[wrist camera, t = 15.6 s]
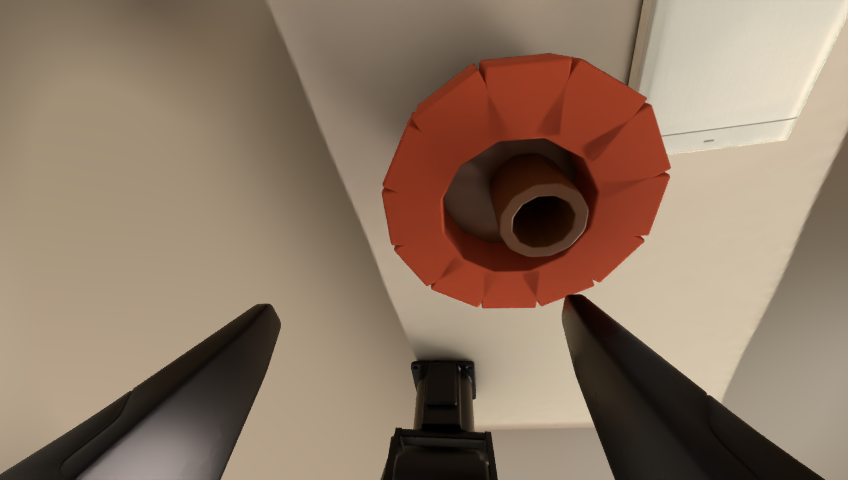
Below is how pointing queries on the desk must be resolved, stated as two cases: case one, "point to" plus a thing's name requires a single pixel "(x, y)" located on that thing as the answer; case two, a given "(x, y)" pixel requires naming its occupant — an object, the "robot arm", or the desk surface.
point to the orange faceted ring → (517, 120)
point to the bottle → (519, 197)
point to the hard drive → (731, 67)
